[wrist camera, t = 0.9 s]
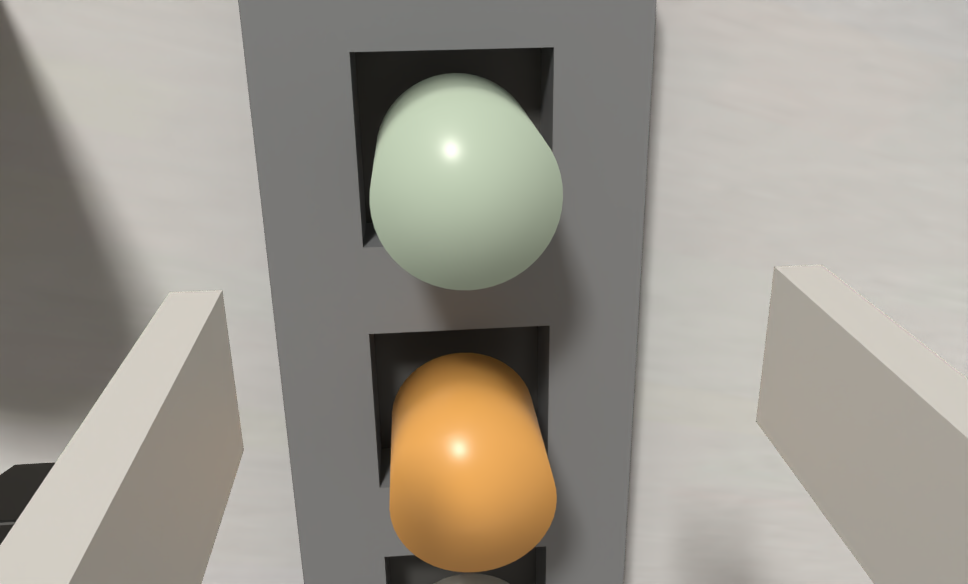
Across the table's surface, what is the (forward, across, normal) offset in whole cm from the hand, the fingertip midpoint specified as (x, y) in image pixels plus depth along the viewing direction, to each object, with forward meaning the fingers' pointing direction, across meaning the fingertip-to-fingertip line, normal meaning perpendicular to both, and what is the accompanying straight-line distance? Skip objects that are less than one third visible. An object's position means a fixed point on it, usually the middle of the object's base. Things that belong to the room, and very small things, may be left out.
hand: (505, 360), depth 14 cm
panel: (+17, 0, -9) cm, 20 cm away
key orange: (+14, 0, -9) cm, 16 cm away
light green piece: (+14, 0, 0) cm, 14 cm away
